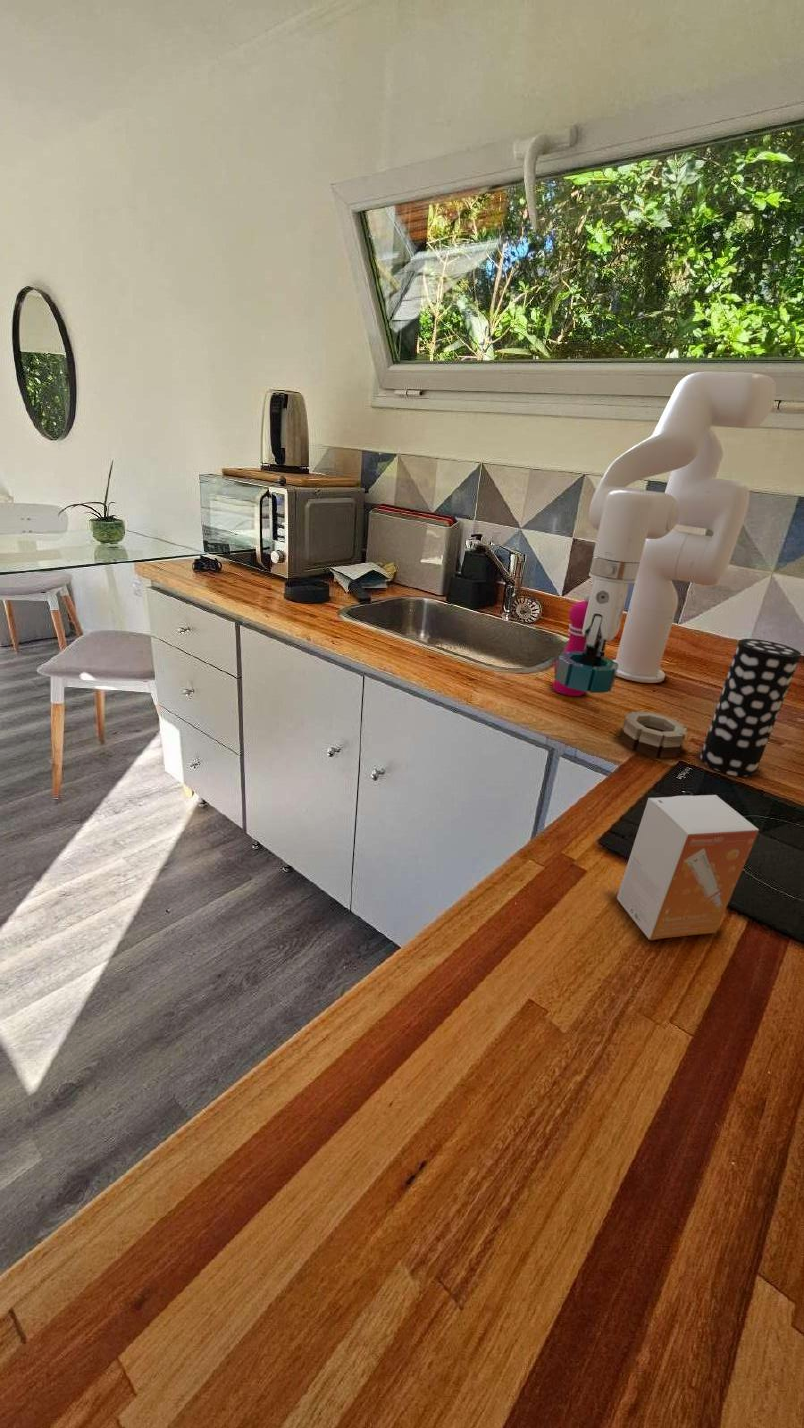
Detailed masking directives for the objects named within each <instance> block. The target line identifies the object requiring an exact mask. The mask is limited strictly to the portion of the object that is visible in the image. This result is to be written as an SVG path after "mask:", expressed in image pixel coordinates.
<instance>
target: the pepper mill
mask: <svg viewBox="0 0 804 1428" xmlns="http://www.w3.org/2000/svg"><path fill="white" fill-rule="evenodd" d="M590 594H591V593H586V594H585V595H584V597H583V600H582V601H578V602H576V603H574V604H573V605H572V606H571V608H570V610H569V611H568V612H569V613H568V619H569V621H570V622H571V623H570V624H569V625H568V629H567V632H568V633H569V638H568V642H567V645H566V647H565V649H563V652H566V651H581V652H584V647H585V643H586V639H587V636H586V637H584V636H583V634H582V630H583V625H584V620H585V615H586V611H587V606H588V602H589V598H590ZM557 662H558V659H557V660H556V662H555V664H554V668H553V671H554V673H555V672H556V667H557ZM552 689H553V690H554V692H556V693H558V694H561V695H563V696H568V697H580V696H583V695H584V693H585V692H584V691H580V690H576V689H572V688H568V686H564V685H562V684H561V683H560V682H558V681H557V680H555V679H554V680H553V684H552Z"/></svg>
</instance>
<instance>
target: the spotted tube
mask: <svg viewBox="0 0 804 1428" xmlns="http://www.w3.org/2000/svg"><path fill="white" fill-rule="evenodd" d="M801 657H802V653H801V651H799V650H797V648H794V647H791V646H788V645H785V644H782V643H779V642H778V643H777V642H774V641H769V640H765V639H756V638H741V639H739V641H738V643H737V645H736V648H735V652H734V655H733V658H732V661H731V663H730V665H729V670H728V673H727V676H726V679H725V681H724V684H723V687H722V691H721V693H720V696H719V699H718V702H717V704H716V708H715V711H714V713H713V717H712V719H711V723H710V725H709V729H708V730H707V731H708V732H707V734H706V738H705V740H704V744H703V747H702V749H701V753H700V761H702V762H703V763H704V764H705V765H706V766H707V767H710V768H711V769H713V770H715V771H718V772H721V773H723V774H726V775H730V776H735V777H743V778H744V777H752V776H754V775H756V773H757V770H758V768H759V765H760V762H761V759H762V757H763V755H764V752H765V749H766V748H767V744H768V742H769V739H770V736H771V734H772V731H773V729H774V727H775V724H776V721H777V719H778V717H779V716H778V715H779V713H780V711H781V708H782V705H783V704H784V700H785V697H786V696H787V692H788V691H789V687H790V684H791V682H792V679H793V677H794V675H795V672H796V669H797V668H798V667H797V666H798V664H799V661H800V659H801Z"/></svg>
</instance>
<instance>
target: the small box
mask: <svg viewBox="0 0 804 1428" xmlns="http://www.w3.org/2000/svg"><path fill="white" fill-rule="evenodd" d="M759 831H760V829H759V828H758V827H757V826H755V825H754V824H753V823H752V822H751V821H749V820H748V819H746V818H745V817H744V816H743V815H741V814H740V813H739V812H738V811H737V810H735V809H734V808H733V807H732V806H730V805H729V804H728V803H727V802H726V801H724V800H723V799H722V798H721V797H719V796H718V795H717V794H705V795H704V794H703V795H701V794H700V795H675V796H663V797H662V796H661V797H648V798H647V801H646V803H645V808H644V811H643V814H642V817H641V820H640V824H639V826H638V829H637V832H636V836H635V839H634V841H633V845H632V848H631V852H630V855H629V858H628V860H627V861H628V862H627V864H626V867H625V871H624V874H623V876H622V880H621V883H620V886H619V889H618V892H617V895H616V900H617V901H618V902H619V903H620V905H621V906H622V907H623V909H624V910H625V911H626V913H627V914H628V916H629V917H630V918H631V919H632V920H633V921H634V923H635V924H636V925H637V927H638V928H639V929H640V930H641V932H643V934H644V935H645V936H646V938H647V939H648V940H649V941H655V940H660V939H668V938H669V939H670V938H679V937H685V936H697V935H706V934H716V932H717V931H718V928H719V926H720V923H721V921H722V919H723V917H724V914H725V911H726V909H727V907H728V904H729V903H730V900H731V898H732V895H733V893H734V890H735V888H736V886H737V883H738V881H739V878H740V877H741V874H742V872H743V869H744V867H745V865H746V862H747V860H748V858H749V855H750V853H751V851H752V848H753V845H754V843H755V841H756V839H757V836H758V834H759Z"/></svg>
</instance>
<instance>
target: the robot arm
mask: <svg viewBox="0 0 804 1428" xmlns="http://www.w3.org/2000/svg"><path fill="white" fill-rule="evenodd" d="M776 387H777V386H776V382H775V380H774V379H773V377H771V376H770V375H765V374H760V373H757V372H748V371H696V372H693V373H690V374H688V375H686V376H685V377H683V378H682V379H681V380H680V381H679V382H678V383H677V384H676V386H675V388H674V390H673V392H672V394H671V396H670V398H669V400H668V401H667V404H666V406H665V408H664V410H663V412H662V414H661V416H660V418H659V419H658V422H657V424H656V425H655V428H654V430H653V431H652V434H651V435H650V437H648V438H646V439H644V440H642V441H641V442H639V443H637V444H635V445H634V446H633V447H631V448H629V449H628V450H626V451H625V452H623V453H622V454H620V455H619V456H618V457H617V458H616V459H614V460H613V462H611V463H610V464H609V466H608V467H607V469H606V470H605V472H604V474H603V476H602V477H601V480H600V481H599V483H598V485H597V488H596V490H595V491H594V493H593V496H592V499H591V502H590V505H589V509H588V521H589V523H590V525H591V527H592V528H594V529H595V530H597V531H598V532H597V536H596V539H595V545H594V549H593V554H592V558H591V563H590V566H589V567H590V568H589V573H588V576H589V577H590V578H592V579H594V580H593V582H592V587H591V590H590V593H589V594H590V598H589V602H588V606H587V611H586V615H585V620H584V625H583V630H582V634H583V636H584V637H586V636H587V639H586V643H585V647H584V652H583V654H582V658H581V662H580V664H584V665H588V666H592V667H599V665H600V661H601V657H602V656H603V657H605V652H606V651H605V650H606V646H607V643H610V642H611V641H613V639H615V637H616V636H617V635H618V633H619V632H620V629H621V624H622V620H623V619H622V618H623V614H624V609H625V604H626V600H627V595H628V591H629V585H630V584H634V585H633V589H632V593H631V597H630V601H629V602H630V603H629V606H628V609H627V614H626V617H625V622H624V625H623V630H622V632H621V633H622V634H621V638H620V641H619V645H618V649H617V653H616V657H615V659H611V660H612V661H614V662H616V663H618V664H617V665H619V666H618V670H617V674H616V677H618V678H621V679H623V680H627V681H632V682H637V683H643V684H657V683H661V682H663V681H664V680H665V677H666V674H665V672H664V671H663V670H661V669H660V667H661V664H662V661H663V657H664V654H665V650H666V648H667V644H668V640H669V636H670V632H671V629H672V625H673V622H674V620H675V616H676V612H677V609H678V605H679V595H678V592H677V590H676V587H675V586H674V583H673V581H680V582H686V583H691V584H696V585H702V586H715V585H717V584H718V583H720V582H721V581H722V580H723V578H724V577H725V575H726V572H727V570H728V567H729V565H730V562H731V559H732V557H733V554H734V551H735V548H736V544H737V542H738V539H739V536H740V533H741V530H742V527H743V524H744V522H745V518H746V515H747V512H748V509H749V504H750V490H749V488H748V486H747V485H746V484H745V483H743V482H741V481H737V480H733V479H723V478H717V474H718V472H719V469H720V465H721V462H722V459H723V454H724V453H723V451H724V450H723V447H722V445H721V442H720V440H719V438H718V436H717V434H716V433H715V431H714V429H713V428H712V427H723V428H724V427H725V428H739V429H754V428H757V427H759V426H761V425H762V424H763V423H764V422H765V421H766V420H767V418H768V417H769V415H770V413H771V411H772V409H773V406H774V404H775V399H776V392H777V389H776ZM669 472H670V475H669V477H668V481H667V484H666V487H665V491H664V492H661V491H655V490H646V489H641V488H631V487H629V486H630V485H631V484H633V483H636V482H637V481H640V480H642V479H646V478H650V477H655V476H659V475H662V474H667V473H669ZM676 525H679V526H684V527H690V528H697V529H703V530H710V531H711V532H712V535H705V534H698V533H692V532H687V531H682V530H681V531H680V530H674V528H675V527H676ZM672 580H673V581H672ZM600 655H601V656H600Z"/></svg>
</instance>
